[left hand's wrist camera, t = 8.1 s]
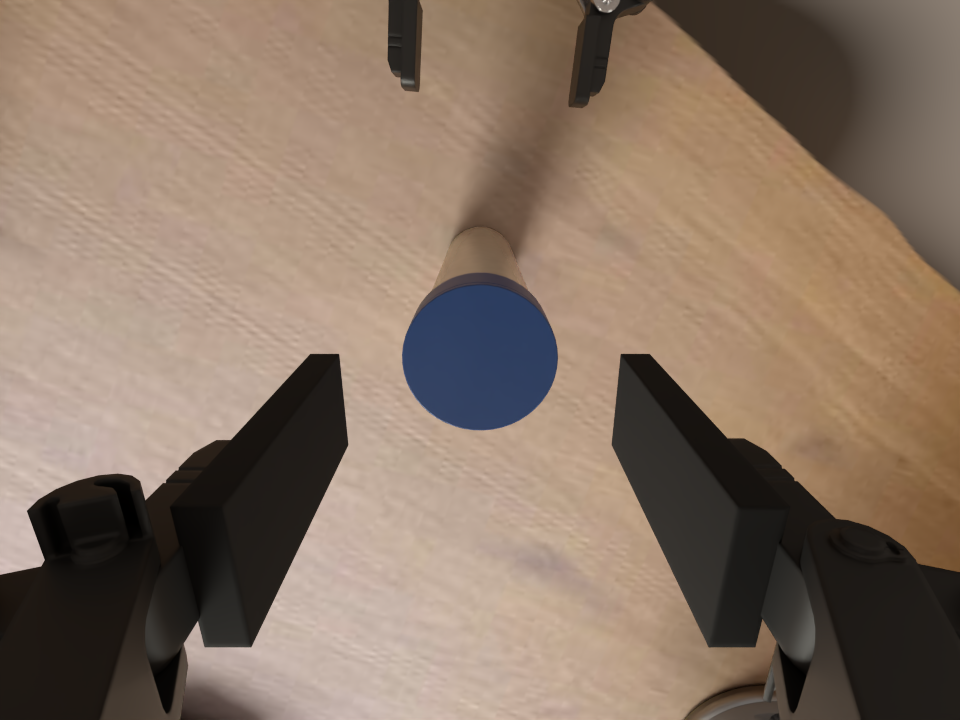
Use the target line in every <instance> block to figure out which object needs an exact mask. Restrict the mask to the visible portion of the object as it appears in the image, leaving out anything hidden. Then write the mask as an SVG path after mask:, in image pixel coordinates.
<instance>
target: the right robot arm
mask: <svg viewBox="0 0 960 720" xmlns="http://www.w3.org/2000/svg"><path fill="white" fill-rule="evenodd" d="M651 1H652V0H577V2H578V4H579V6H580V9H581V11H582V13H583V15H584V19H583V21H582V22H581V24H580V25H579V27H578V32H577V40H576V48H575V56H574V63H573V71H572V79H571V86H570V94H569V107H575V108H583V107H585V106H586V105H587V104H588V102H589V98H590V96H595V95H596V94H598V93H599V92H600V90H601V88H602V86H603V84H604V82H605V77H606V70H607V64H608V57H609V50H610V44H611V37H612V30H613V24H614V21H615V19H617V18H620V17H623V16H626V15H637V14H639V13H640V12H641V11H642V10H643V9H644V8H645V7H646V6H647V4H648V3H649V2H651ZM422 14H423V10H422V8H421V5H420V2H419V0H389V20H388V62H389V65H390V68H391V72H392V73H393V74H394V75H395V76H396V77H401V86H402V88H403V89H404V90H405V91H414V92H419V87H420V65H421V39H422Z"/></svg>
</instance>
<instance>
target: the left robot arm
mask: <svg viewBox="0 0 960 720" xmlns="http://www.w3.org/2000/svg"><path fill="white" fill-rule="evenodd" d="M347 447H348V437H347V427H346V417H345V407H344V398H343V388H342V378H341V368H340V358H339V354H310V355H309V356H308V357H307V358H306V359H305V360H304V362H303V363H302V364H301V365H300V366H299V367H298V368H297V369H296V370H295V371H294V372H293V373H292V375H291V376H290V377H289V378H288V379H287V380H286V381H285V382H284V383H283V384H282V385H281V386H280V388H279V389H278V390H277V391H276V392H275V393H274V394H273V395H272V396H271V397H270V398H269V399H268V401H267V402H266V403H265V404H264V405H263V406H262V407H261V408H260V409H259V410H258V411H257V412H256V414H255V415H254V416H253V417H252V418H251V419H250V420H249V421H248V422H247V423H246V424H245V425H244V427H243V428H242V429H241V430H240V431H239V432H238V433H237V434H236V435H235V436H234V437H233V438H232V440H216V441H214V442H212V443H211V444H209V445H207V446H205V447H203V448H202V449H200V450H198V451H196V452H194V453H193V454H192V455H191V456H190V457H189V458H188V459H187V460H186V461H185V462H184V463H183V464H182V465H181V466H180V467H179V470H178V471H175V472H174V473H173V474H172V475H171V476H170V477H169V478H168V479H167V480H166V483H163V484H162V485H161V486H160V487H159V488H158V489H157V490H156V491H155V492H154V493H153V494H152V495H151V496H150V497H149V498H148V499H147V500H146V501H145V498H144V494H143V490H142V487H141V483H140V481H139V480H138V479H136V478H135V477H133V476H131V475H123V474H109V475H98V476H94V477H90V478H86V479H82V480H78V481H75V482H73V483H70V484H68V485H65V486H63V487H60V488H58V489H56V490H54V491H52V492H51V493H49V494H47V495H46V496H44V497H42V498H41V499H39V500H38V501H37V502H36V503H35V504H34V505H33V506H32V507H31V508H29V509H28V510H27V512H28V515H29V518H30V521H31V523H32V526H33V529H34V532H35V534H36V537H37V540H38V542H39V545H40V548H41V551H42V553H43V556H44V559H45V561H44V563H43V565H42V566H41V567H37V568H32V569H27V570H22V571H17V572H12V573H7V574H2V575H0V720H180V717H181V710H182V704H183V697H184V690H185V683H186V676H187V669H188V662H187V655H186V651H185V647H184V642H185V640H186V639H187V637H188V636H189V634H190V632H191V631H192V629H193V628H194V626H195V624H196V623H197V621H198V622H199V626H200V630H201V634H202V638H203V642H204V646H205V647H252V645H253V642H254V640H255V638H256V636H257V634H258V632H259V630H260V628H261V626H262V624H263V622H264V620H265V617H266V615H267V613H268V611H269V609H270V607H271V605H272V603H273V601H274V599H275V597H276V594H277V592H278V590H279V588H280V586H281V584H282V582H283V580H284V578H285V576H286V574H287V572H288V569H289V567H290V565H291V563H292V561H293V559H294V557H295V555H296V553H297V551H298V549H299V547H300V544H301V542H302V540H303V538H304V536H305V534H306V532H307V530H308V528H309V526H310V524H311V522H312V519H313V517H314V515H315V513H316V511H317V509H318V507H319V505H320V503H321V501H322V499H323V497H324V494H325V492H326V490H327V488H328V486H329V484H330V482H331V480H332V478H333V476H334V474H335V472H336V469H337V467H338V465H339V463H340V461H341V459H342V457H343V455H344V453H345V451H346V449H347ZM612 447H613V449H614V451H615V453H616V455H617V457H618V459H619V461H620V463H621V465H622V467H623V469H624V472H625V474H626V476H627V478H628V480H629V482H630V484H631V486H632V488H633V490H634V492H635V494H636V497H637V499H638V501H639V503H640V505H641V507H642V509H643V511H644V513H645V515H646V517H647V519H648V522H649V524H650V526H651V528H652V530H653V532H654V534H655V536H656V538H657V540H658V542H659V544H660V547H661V549H662V551H663V553H664V555H665V557H666V559H667V561H668V563H669V565H670V567H671V570H672V572H673V574H674V576H675V578H676V580H677V582H678V584H679V586H680V588H681V590H682V592H683V595H684V597H685V599H686V601H687V603H688V605H689V607H690V609H691V611H692V613H693V615H694V617H695V620H696V622H697V624H698V626H699V628H700V630H701V632H702V634H703V636H704V638H705V640H706V642H707V645H708V647H755V646H756V642H757V638H758V634H759V630H760V626H761V622H762V619H763V620H764V622H765V623H766V625H767V626H768V628H769V630H770V631H771V633H772V634H773V636H774V638H775V639H776V641H777V643H776V647H775V651H774V655H773V658H772V662H771V666H770V669H769V673H768V677H767V681H766V684H765V685H759V686H749V687H743V688H738V689H734V690H731V691H727V692H725V693H722V694H719V695H717V696H715V697H713V698H711V699H709V700H707V701H706V702H704V703H703V704H701V705H700V706H698V707H697V708H696V709H694V710H693V711H692V712H691V713H690V714H689V715H688V716H687V717H686V718H685V720H960V572H955V571H950V570H945V569H941V568H936V567H931V566H926V565H921V564H918V563H917V562H916V560H915V559H914V557H913V556H912V555H911V554H910V553H909V552H908V550H907V549H906V548H905V547H904V546H902V545H901V544H900V543H898V542H897V541H895V540H894V539H892V538H891V537H890V536H888V535H886V534H884V533H882V532H880V531H877V530H875V529H873V528H871V527H869V526H866V525H862V524H859V523H855V522H852V521H849V520H840V519H835V518H834V517H833V516H832V515H831V514H830V513H829V512H828V511H827V510H826V509H825V508H824V507H823V506H822V505H821V504H820V503H819V502H818V501H817V500H816V499H815V498H814V497H813V496H812V495H811V494H810V493H809V492H808V491H807V490H806V489H805V488H804V487H803V486H802V485H801V484H800V483H799V482H798V481H794V477H793V476H792V475H791V474H790V473H788V472H787V471H786V470H785V469H782V466H781V465H780V464H779V463H778V462H777V461H776V460H775V459H774V458H773V457H772V456H771V455H770V454H769V453H768V452H767V451H766V450H764V449H762V448H760V447H758V446H757V445H755V444H753V443H751V442H749V441H748V440H746V439H727V437H726V436H725V435H724V434H723V433H722V432H721V431H720V430H719V429H718V428H717V427H716V426H715V424H714V423H713V422H712V421H711V420H710V419H709V418H708V417H707V416H706V415H705V414H704V412H703V411H702V410H701V409H700V408H699V407H698V406H697V405H696V404H695V403H694V402H693V401H692V399H691V398H690V397H689V396H688V395H687V394H686V393H685V392H684V391H683V390H682V389H681V388H680V386H679V385H678V384H677V383H676V382H675V381H674V380H673V379H672V378H671V377H670V376H669V375H668V373H667V372H666V371H665V370H664V369H663V368H662V367H661V366H660V365H659V364H658V363H657V362H656V360H655V359H654V358H653V357H652V356H651V355H650V354H621V358H620V368H619V378H618V388H617V397H616V407H615V417H614V427H613V437H612Z"/></svg>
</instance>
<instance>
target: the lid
mask: <svg viewBox="0 0 960 720" xmlns="http://www.w3.org/2000/svg"><path fill="white" fill-rule="evenodd" d="M557 362H558V352H557V345H556V340H555V336H554V334H553V331H552V328H551V326H550V324H549V322H548V320H547V317H546V315H545V313H544V311H543V309H542V307H541V305H540V304H539V303H538V301H537V300H536V298H535V297H534V296H533V295H532V294H531V293H530V292H529V291H528V290H527V289H525V288H524V287H523V286H522V285H520V284H518V283H517V282H515V281H513V280H511V279H509V278H507V277H504V276H500V275H497V274H492V273H478V272H477V273H468V274H463V275H459V276H456V277H454V278H451V279H449V280H447V281H445V282H443V283H441V284H440V285H439V286H437V287H436V288H434V289H433V290H432V291H431V292H430V293H429V294H428V295H427V296H426V297H425V299H424V300H423V301H422V302H421V304H420V306H419V307H418V309H417V311H416V313H415V315H414V317H413V320H412V322H411V324H410V326H409V329H408V331H407V334H406V336H405V340H404V344H403V352H402V364H403V370H404V375H405V378H406V381H407V384H408V386H409V388H410V390H411V392H412V393H413V395H414V396H415V398H416V399H417V401H418V402H419V403H420V404H421V405H422V406H423V407H424V408H425V409H426V410H427V411H428V412H429V413H431V414H432V415H433V416H435V417H436V418H438V419H440V420H441V421H443V422H445V423H447V424H450V425H453V426H455V427H459V428H463V429H469V430H491V429H497V428H501V427H504V426H507V425H510V424H513V423H515V422H517V421H519V420H521V419H522V418H524V417H525V416H527V415H528V414H529V413H531V412H532V411H533V410H534V409H535V408H536V407H537V406H538V405H539V404H540V403H541V402H542V401H543V399H544V398H545V396H546V395H547V393H548V392H549V390H550V388H551V386H552V383H553V381H554V378H555V374H556V370H557Z"/></svg>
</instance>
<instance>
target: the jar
mask: <svg viewBox="0 0 960 720" xmlns="http://www.w3.org/2000/svg"><path fill="white" fill-rule="evenodd" d="M477 272H478V273H492V274H497V275H500V276H504V277H507V278H509V279H511V280H513V281H515V282H517V283H518V284H520V285H522V286H523V287H524V288H525V289H527V287H526V284H525V282H524V279H523V277H522V274H521V272H520V269H519V267H518V264H517V262H516V259H515V257H514V254H513V252H512V249H511V247H510V245H509V243H508V241H507V240H506V239H505V238H504V236H502V235H501V234H500V233H499V232H497V231H495V230H493V229H490V228H487V227H473V228H469V229H467V230H465V231H463V232H461V233H460V234H459V235H458V236H457V237H456V238H455V239H454V240H453V241H452V243H451V245H450V247H449V249H448V252H447V254H446V257H445V259H444V262H443V264H442V267H441V269H440V272H439V274H438V277H437V279H436V282H435V284H434V287H433V289H434V288H436V287H437V286H439V285H440V284H441V283H443V282H445V281H447V280H449V279H451V278H454V277H456V276H459V275H463V274H468V273H477ZM433 289H432V290H433ZM527 290H528V289H527Z"/></svg>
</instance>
